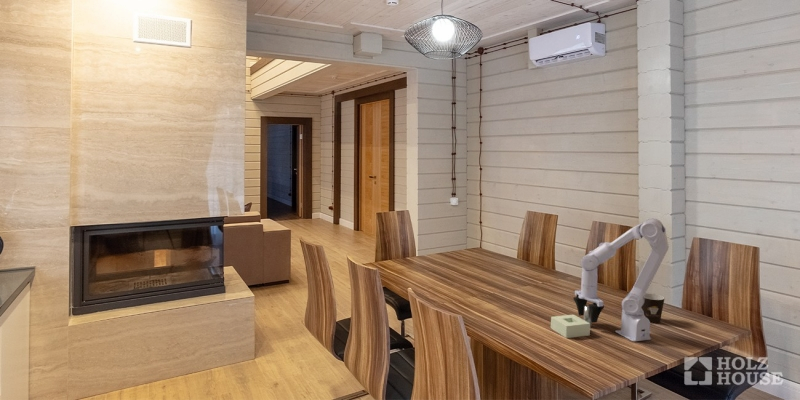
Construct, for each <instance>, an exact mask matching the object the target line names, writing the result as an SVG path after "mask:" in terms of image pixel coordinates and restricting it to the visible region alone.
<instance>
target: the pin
mask: <svg viewBox="0 0 800 400" xmlns="http://www.w3.org/2000/svg"><path fill="white" fill-rule="evenodd" d="M588 305H589V304H586V305H585V306H584V315H583V320H585V321H586V322H588V323H590V329H591V328H592V322H591V313H590V309H589V306H588Z"/></svg>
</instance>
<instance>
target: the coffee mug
mask: <svg viewBox="0 0 800 400" xmlns="http://www.w3.org/2000/svg"><path fill="white" fill-rule="evenodd" d="M665 299H666V298H665V297H664V295H661V294H656V293H651V292H650V293H649V292H648V293H647V292H646V294H645V296H644V304H643V306H642V307H641V308H642V310H643V311H644V316H645V317H646V318H648V319H649V321H650V324H660V323H661V320H662V319H661V318H662V315H663V314H662V313H663V308H664V304H665V303H664V302H665Z"/></svg>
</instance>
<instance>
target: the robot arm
mask: <svg viewBox="0 0 800 400" xmlns="http://www.w3.org/2000/svg"><path fill="white" fill-rule="evenodd" d="M634 239H637V240H638V239H644V240H646V241H647V242H648V244H649V246H650V248H651V250H650V253H649V255H648V257H647V258H646V261H645V262H644V264H643V267H642V268H641V270H640V272H639V274H638V276H637V279H636V281H635V283H634V284H633V287H632V289H631V290H630V291H629V292H628V293H627V294H626V296H625V297H624V298H623V300H622V301H621V308H622V309H621V323H620V325H621V326H620V329H619V330H615V333H616V334H618V335H620V336H622V337H623V338H626V339H628V340H630V341H631V342H640V341H641V342H642V341H650V340H652V337H651V336H650V334H651V333H650V332H651V323H650V321H649V319H648V318H646V317H645V316H644V311H643V310H642V308H641V307H642V306H643V304H644V296H645V294H646V293H647V292H648V290H649V287H650V286H651V283H652V281H653V280H654V278H655V276H656V274H657V272H658V270H659V268H660V265H662V262H663V260H664V258H665V256H666V254H667V252H668V251H669V242H668V237H667V231H666V227H665V226H664V225H663V223H662V222H661V221H660V220H659V219H657V218H648V219H647V220H646V221H645V222H642V223H641V222H640V223H639V224H636V225H635V226H633V227H631V228H630V229H628V230H627V231H625V232H624V233H622V234H621V235H620V236H619V237H617V238H616V239H614V240H613V241H612V242H607V241H604V242H600V243H599V244H598V247H596V248H595V249H593V250H590V251H588V253H587V254H586V255H584V256H582V258H581V259H580V265H581V280H580V281H581V282H580V283H581V284H580V285H581V286H580V289H578V290H574V297H573V301H574V303H575V305H576V308H577V313H578V317H583V316H584V306H585V305H588V306H589V309H590V313H591V322H592V323H593V324H594V323H598V321H599V316H600V314H601V312H602V311H603V309H604V308H605V305H604V301H603V300H602V299H601V298H599V296H598V275H599V274H598V268H599V265H601V264H604V263H605V262H607V261H608V260H610V259H611V258H612V257H614V256H615V255H616V253H617V250H618V249H620V248H621V247H623V246H625V245H626V244H627V243H630V242H631V241H632V240H634ZM588 302H589V303H591V304H588Z"/></svg>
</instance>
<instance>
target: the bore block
mask: <svg viewBox="0 0 800 400" xmlns="http://www.w3.org/2000/svg"><path fill="white" fill-rule="evenodd" d="M550 329H552V330H553V331H554V332H556V333H558V334H559V335H560V336H562V337H564V338H565V339H569V338H578V337H586V336H588V337H589V336H590V335H591V334H590V333H591V328H590V323H588V322H586V321H585V320H584V318H581V317H580V316H577V315H575V314H566V315H565V314H563V315H557V316H550Z"/></svg>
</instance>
